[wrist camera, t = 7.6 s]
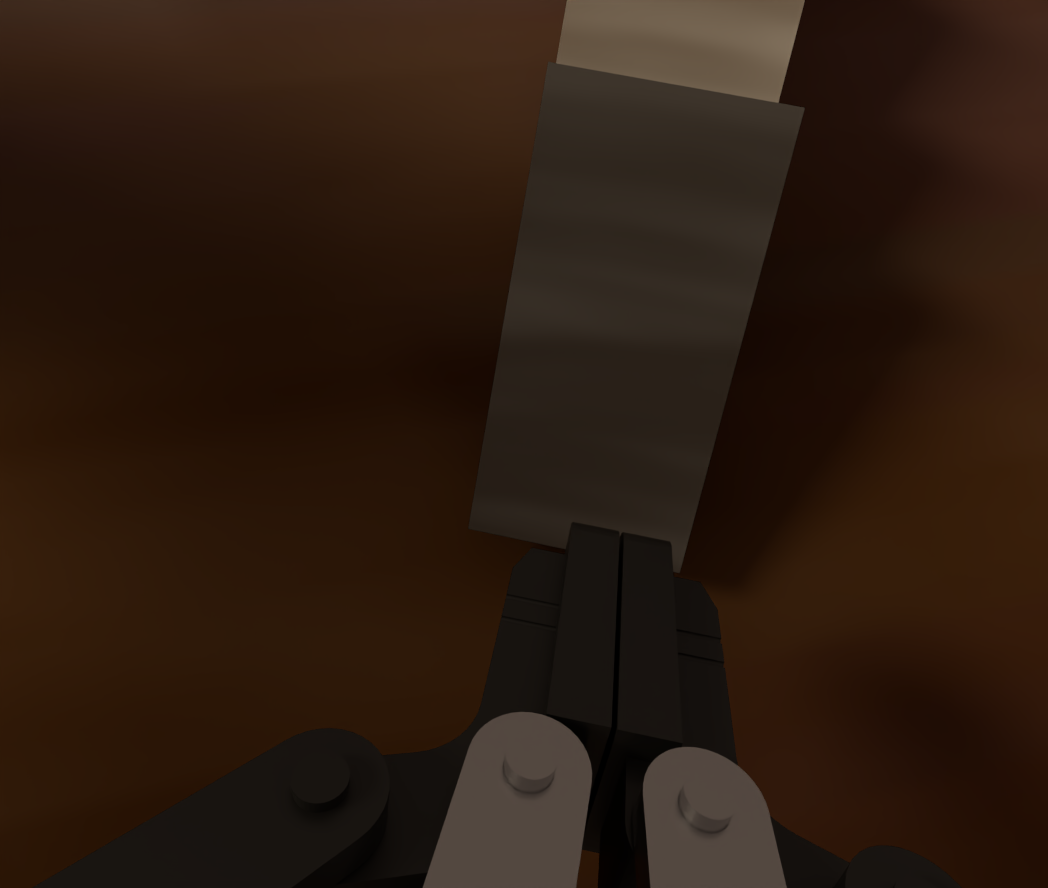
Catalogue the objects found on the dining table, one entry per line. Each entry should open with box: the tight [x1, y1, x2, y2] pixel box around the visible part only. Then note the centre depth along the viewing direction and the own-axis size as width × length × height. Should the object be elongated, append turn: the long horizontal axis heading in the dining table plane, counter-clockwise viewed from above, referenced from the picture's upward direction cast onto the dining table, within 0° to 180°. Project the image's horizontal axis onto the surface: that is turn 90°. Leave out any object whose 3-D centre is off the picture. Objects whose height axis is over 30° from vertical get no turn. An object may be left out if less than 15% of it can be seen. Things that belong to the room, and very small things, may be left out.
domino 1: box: [556, 0, 805, 103], centre depth 18 cm, size 2×5×10 cm
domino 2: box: [468, 62, 805, 573], centre depth 17 cm, size 2×5×10 cm
